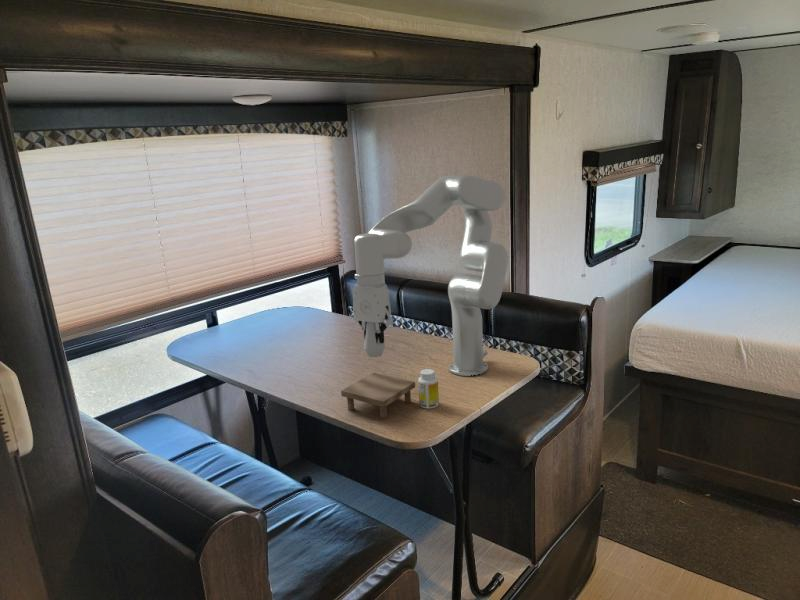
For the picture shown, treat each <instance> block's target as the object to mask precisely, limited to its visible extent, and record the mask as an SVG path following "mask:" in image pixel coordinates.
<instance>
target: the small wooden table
mask: <svg viewBox="0 0 800 600" xmlns="http://www.w3.org/2000/svg"><path fill="white" fill-rule="evenodd" d="M415 388H416V381H413V380H408V379H403V378H399V377H394V376H392V375H391V376H390V375H386V374H382V373H377V372H373V373H371V374H368V375H367V376H365V377H363V378H362V379H359V380H358V381H357V382H354V383H352V384H351V385H349V386H347V387H345V388H344V389H341V390H340V394H341V397H345V398H346V400H347V401H346V402H347V403H346V404H347V410H348V411H354V410H355V400H356V401H359V402H364V403H366V404H370V405H375V406H378V407H379V417H380V420H382V421H384V420H387V419H388V414H387V412H388V409H387V406H388V405H389V404H392V403H393V402H394V401H396V400H397V399H399V398H400V397H402V396H404V397H403V398H404V403H405V404H411V403H412V396H411V391H412V390H413V389H415Z"/></svg>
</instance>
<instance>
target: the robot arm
mask: <svg viewBox="0 0 800 600" xmlns="http://www.w3.org/2000/svg"><path fill="white" fill-rule="evenodd" d="M506 193H507V192H506V190H505V187H503V185H502V184H501V183H499V182H498V181H494V180H490V179H485V178H481V177H478V176H473V175H467V174H448V175H443V176H441V177H439V178H438V179H437V180H436V181H434V182H433V183H432V184H431V185H430V186H429V187H428V188H427V189H426V190H425V191H423V193H421V194H420V195H419V196H418V197H417V198H416V199H415V200H413V201H412V202H410V203H408V204H406V205H403V206H402V207H401V208H397V210H395V211H392V212H391V213H389V214H387V215H385V216H384V217H383V218H381V219H380V220H379V221H378V222H377V223H376V224H375V225H373V227H372V228H370V230H369V231H368V232H367V233H361V234H357V235H356V236H355V238H354V239H353V240H354V255H355V258H354V259H355V268H356V269H355V271H356V272H355V274H354V279H355V280H356V283H355V284H354V287H353V295H352V299H353V301H352V313H353V320H354V321H356V322H357V323H358V324H359V326H360V327H361V330H362V331H363V336H364V340H365V336H366V324H367V322H371V323H375V326H376V332H377V333H375V338H376V343H377V342H378V337H379V342H380V343H381V344H382V343H384V344H385V331H386V330H387V329H388V327H390V326H393V324H395V323H394V319H393V317H392V309H391V300H390V293H389V290H388V285H387V284H386V281H385V280H386V279H385V261H384V260H385V259H386V260H387V259H402V258H404V257H406V256H407V255H408V254H409V253H410V252H411V250H412V247H413V243H412V239H411V237H410V236H409V235H408V234H407V233H408V232H412V231H416V230H421V229H425V228H427V227H430V226H433V225H434V224H435V223H436V222H437V221H438V220H440V218H442V216H444V215H445V213H446V212H448V211H449V210H450V209H451V208H452V207H453V206H458V207H459V208H460V210H461V212H462V215H463V217H464V223H465V224H464V225H465V226H464V233H463V236H462V242H461V246H460V252H459V258H458V259H459V264H460V266H461V267H462V268H463V269H466V270H469V271H473V272H478V273H479V272H481V275H475V274H468V273H460V274H459V273H458V274H456V275H454V276H453V277H452V278H450V280H449V281H448V282H449V283H448V285H447V294H448V298H449V303H450V307H451V321H452V349H453V350H452V351H453V355H452V356H453V362H451V363H449V365H448V370H449V372H450V373H452V374H453V375H456V376H460V377H462V376H463V377H474V376H473V375H476V376H479V375H478V374H480V375H483V374H485V373H486V372H487V371H488V369H489V366H488V363H487V362H485V361H484V357H487V355H488V351H487V350H486V349H484V347H483V345H484V344H483V343H484V342H483V341H484V340H483V334H484V333H483V316H482V310H481V309H484V310H491V309H493V308H496V306H497V305H498V304H499V302H500V299H501V297H502V294H503V291H504V284H505V281H506V276H507V271H508V270H507V269H508V265H509V255H508V251H507V249H506V247H505V246H504V245H503V244H501V243H499V242H493V241H491V239H492V234H493V233H492V232H493V221H492V217H491V215H490V213H489V212H494V211H498V210H500V209H501V208H503V206H504V205H505V203H506V198H507V196H506V195H507V194H506ZM488 211H489V212H488ZM484 372H485V373H484ZM482 373H483V374H482ZM471 375H472V376H471Z"/></svg>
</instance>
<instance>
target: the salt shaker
mask: <svg viewBox="0 0 800 600" xmlns="http://www.w3.org/2000/svg"><path fill="white" fill-rule="evenodd" d="M375 333H377V332H376V326H375V323H371V322H367V324H366V336H365V339H364V342H363V343H364V344H363V348H364V352H365V354H366V355H367V356H368V357H369V358H379V357H382V355H383V353H384V350H385V348H386V345H385V342H384V343H382V344H381V343H380V342H379V337H378V342H377V343H376V338H375Z"/></svg>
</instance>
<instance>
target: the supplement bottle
mask: <svg viewBox="0 0 800 600" xmlns="http://www.w3.org/2000/svg"><path fill="white" fill-rule="evenodd" d="M417 383H418V384H417V385H418V400H419V402H418V403H419V406H420V407H421V408H423V409H426V410H428V409H429V410H431V409H435V408H437V407H438V406H439V404H440V399H439V398H440V397H439V379H438V377H437V376H436V373H435V370H434V369H431V368H425V369H422V370H421V371H420V377H418V380H417Z"/></svg>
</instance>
